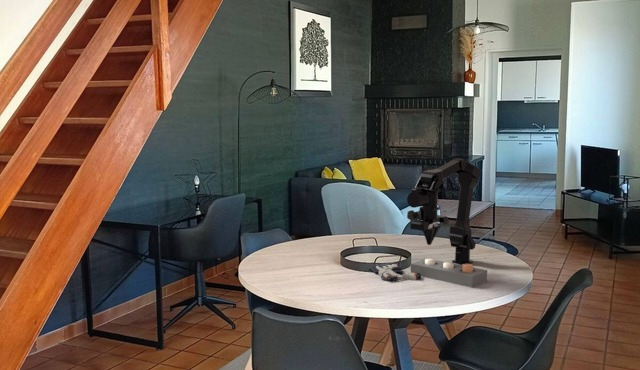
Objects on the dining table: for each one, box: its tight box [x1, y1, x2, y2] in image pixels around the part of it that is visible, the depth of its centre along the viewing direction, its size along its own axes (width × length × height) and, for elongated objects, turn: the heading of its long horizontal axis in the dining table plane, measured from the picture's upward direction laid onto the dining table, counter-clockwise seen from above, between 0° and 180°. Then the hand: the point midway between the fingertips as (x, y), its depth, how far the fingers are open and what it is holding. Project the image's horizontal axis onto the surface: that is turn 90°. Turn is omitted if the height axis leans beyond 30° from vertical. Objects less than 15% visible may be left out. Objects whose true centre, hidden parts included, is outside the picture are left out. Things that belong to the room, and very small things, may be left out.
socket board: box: [410, 257, 488, 288], centre depth 231 cm, size 11×26×4 cm, turn 47°
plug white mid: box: [443, 261, 455, 269], centre depth 231 cm, size 4×4×5 cm
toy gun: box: [370, 261, 422, 283], centre depth 236 cm, size 3×20×15 cm
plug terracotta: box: [461, 263, 474, 273], centre depth 226 cm, size 4×4×5 cm
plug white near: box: [424, 257, 436, 265], centre depth 236 cm, size 4×4×5 cm
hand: (429, 244), depth 236 cm, fingers closed
